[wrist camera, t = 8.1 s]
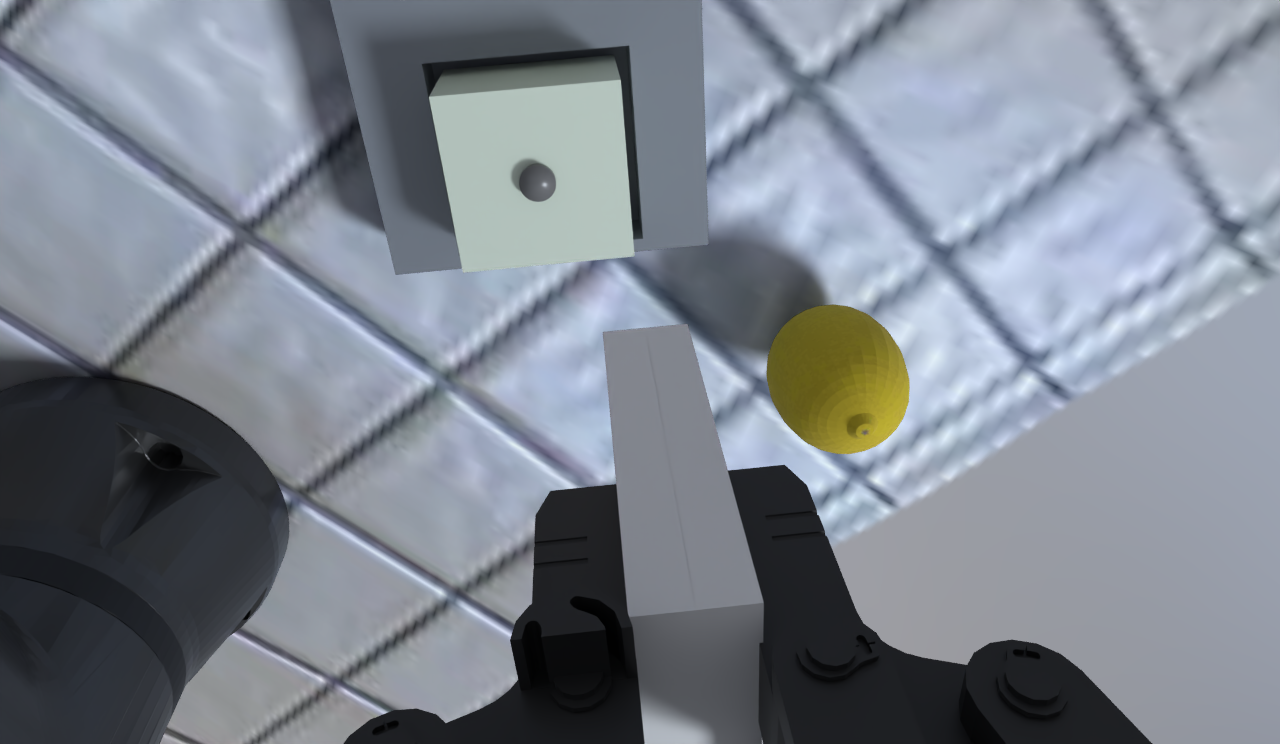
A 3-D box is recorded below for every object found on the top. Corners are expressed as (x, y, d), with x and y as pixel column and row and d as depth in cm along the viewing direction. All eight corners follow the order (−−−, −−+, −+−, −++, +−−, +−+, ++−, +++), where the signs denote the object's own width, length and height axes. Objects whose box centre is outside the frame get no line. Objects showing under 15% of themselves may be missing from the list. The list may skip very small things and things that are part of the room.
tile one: (473, 229, 33) (462, 276, 29) (443, 69, 30) (427, 99, 26) (626, 215, 33) (635, 259, 29) (613, 54, 30) (621, 81, 26)
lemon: (728, 356, 39) (764, 461, 32) (794, 255, 36) (849, 345, 30) (825, 399, 40) (880, 508, 34) (895, 306, 38) (968, 402, 31)
